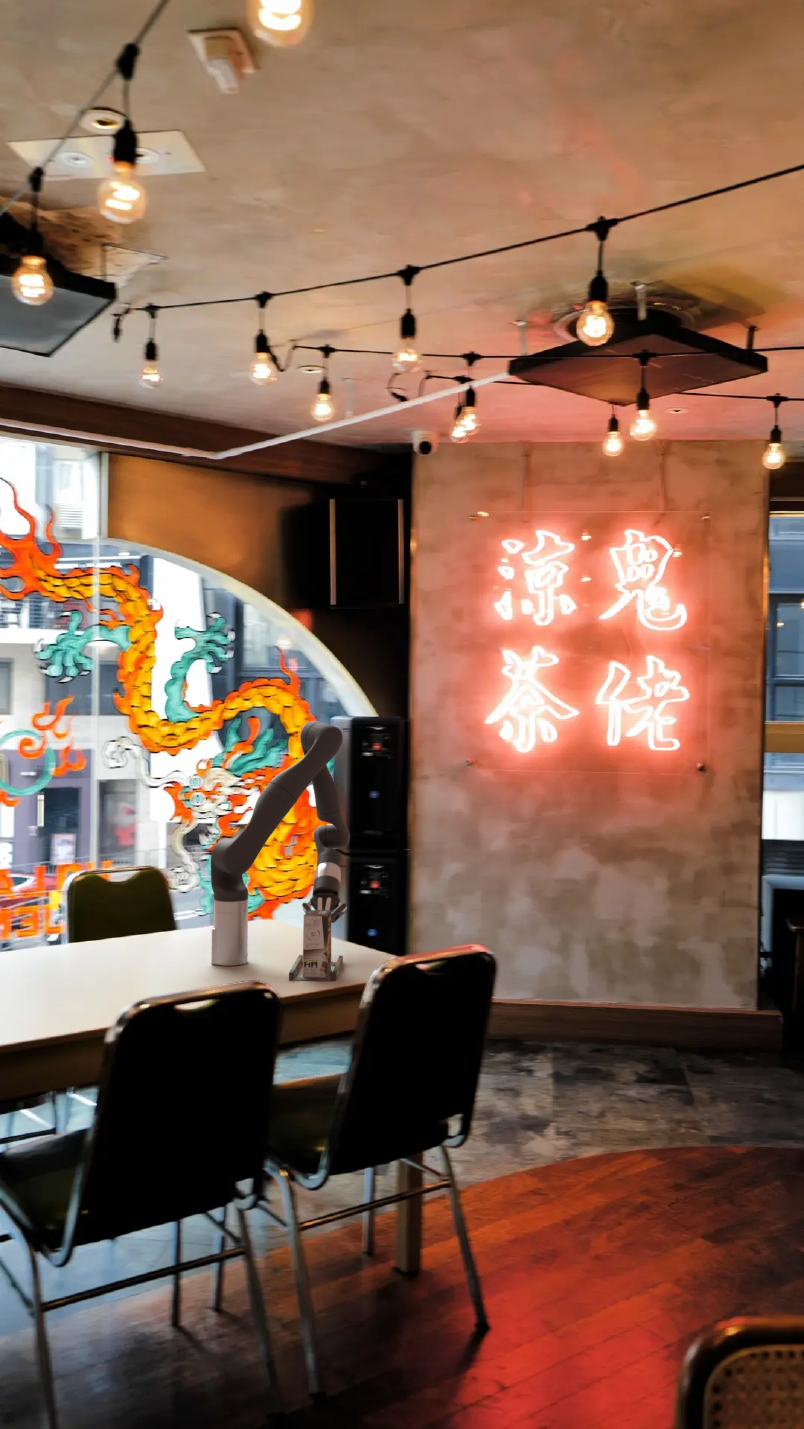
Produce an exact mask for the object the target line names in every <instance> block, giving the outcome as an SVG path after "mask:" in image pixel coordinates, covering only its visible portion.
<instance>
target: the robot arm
mask: <svg viewBox="0 0 804 1429" xmlns="http://www.w3.org/2000/svg"><path fill="white" fill-rule="evenodd" d="M301 728H302V729H301V731H300V735H299V736H300V737H299V738H300V739H299V740H300V745H301V748H302V752H303V755H304V756H302V758H301V759H300V760H299V761H297V762H296V763H294V764H293V765H292V766H289V767H288V768H286V769H285V770H283V771H281V772H280V773H278V774H276V775H275V776H274V777H272V779H271V780H270V782H269V783H268V784H267V785H266V786H265V788H264V789H263V790H262V792H261V793H260V795H259V796H258V797H257V800H256V802H255V805H254V808H253V812H252V815H251V817H250V819H249V822H248V823H247V825H246V826H245V828H244V829H243V830H242V831H241V832H240V834H238V836H237V837H236V838H235V839H234V840H233V839H228V838H226V839H221V840H220V841H218V842H217V843H216V844H215V845H214V846H213V848H212V850H211V854H210V856H211V857H210V882H211V889H212V892H213V927H212V929H211V963H210V964H211V965H217V966H226V967H227V966H228V967H229V966H240V965H245V964H247V963H248V955H249V954H248V953H249V950H248V949H249V948H248V945H249V944H248V939H249V936H248V935H249V932H248V930H249V890H248V887H247V886H246V884H245V882H244V878H243V874H245V873H247V871H249V870H250V869H251V867H252V865H253V864H254V862H255V861H256V859H257V858H258V857H259V855H260V852H261V851H262V849H263V847H264V846H265V845H266V843H267V841H268V840H269V838H270V837H271V836H272V835H273V833H274V832H275V830H276V829H277V828H278V826H280V824H281V822H282V821H283V820H284V819H285V817H286V816H287V815H288V813H289V812H290V811H291V810H292V808H293V807H294V806H295V805H296V803H297V801H299V799H300V797H301V795H302V794H304V792H305V790H306V789H307V788H308V787H309V785H310V784H312V788H313V793H314V801H315V809H316V815H317V818H318V820H319V821H321V822H324V823H329V825H328V824H327V825H325V824H324V825H323V824H322V825H319V826H317V827H316V828H315V830H314V831H313V841H314V844H315V848H316V854H317V855H316V856H317V858H316V867H315V872H314V878H313V884H312V885H313V887H312V895H311V897H310V898H309V901H307V902H303V903H302V910H303V912H304V914H306V913H307V912H308V911H309V910H312V908H313V910H332V924H334V923H336V922H337V921H338V920H339V919H340V918H341V917H343V915H345V913H346V912H347V911H348V910H347V908H348V907H347V903H344V902H343V903H342V902H341V899H340V892H341V891H340V888H341V882H342V881H341V878H342V872H341V870H342V869H341V868H342V860H343V859H342V854H341V852H340V851H339V850H340V849H346V848H347V846H349V844H350V840H351V834H350V831H349V829H348V826H347V824H346V822H345V820H344V816H343V814H342V811H341V810H342V809H341V802H340V801H341V800H340V795H339V794H340V793H339V790H338V787H337V785H336V783H335V780H334V779H333V776H332V774H331V772H330V770H329V768H328V764H329V762H331V760H332V759H333V758H334V756H336V754H337V753H338V752H339V750H340V748H341V747H342V743H343V738H344V737H343V735H344V734H343V732H342V731H341V728H339V727H337V726H335V725H332V724H329V723H326V722H322V721H317V720H311V721H308V722H306V723H305V724H303V727H301ZM337 849H338V850H337Z"/></svg>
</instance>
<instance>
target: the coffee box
mask: <svg viewBox="0 0 804 1429" xmlns="http://www.w3.org/2000/svg"><path fill="white" fill-rule="evenodd" d="M332 914H333V912H332V910H315V909H311V910H309V911H308V912H307V913H304V914H303V926H302V928H303V929H302V930H303V932H302V933H303V934H302V935H303V936H302V937H303V939H302V940H303V941H302V955H303V965H302V977H327V978H328V975H329V973H331V971H332V966H331V962H332V928H333V927H332V924H333V923H332Z"/></svg>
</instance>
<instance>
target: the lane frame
mask: <svg viewBox="0 0 804 1429" xmlns="http://www.w3.org/2000/svg"><path fill="white" fill-rule="evenodd" d="M343 964H344V956H343V955H338V958H337V960H336V961H331V967H333V966H334V968H333V970H332V972H331V977H328V976H327V977H303V976H297V974H296V973H298V972H299V969H300V968H301V966H303V954H298V956H297V958H296V959H295V961H294V963H293V965H292V966H291V968H290V969H289V972H288V981H299V982H300V981H303V982H306V981H307V982H308V981H309V982H310V981H311V982H337V980H338V977H339V974H340V972H341V969H342V967H343Z"/></svg>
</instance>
